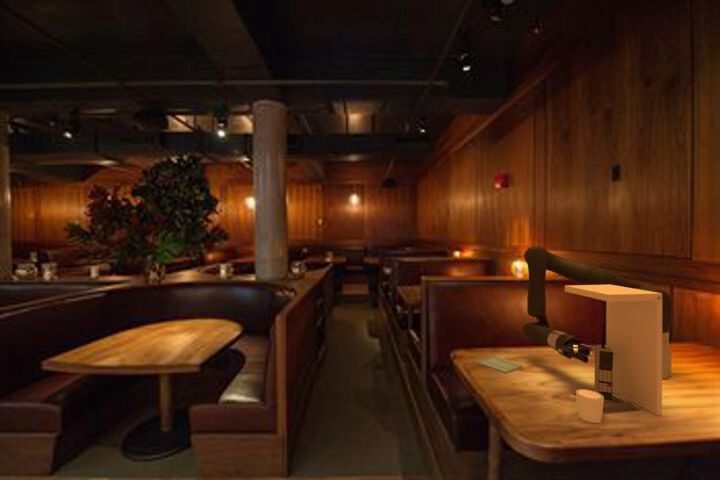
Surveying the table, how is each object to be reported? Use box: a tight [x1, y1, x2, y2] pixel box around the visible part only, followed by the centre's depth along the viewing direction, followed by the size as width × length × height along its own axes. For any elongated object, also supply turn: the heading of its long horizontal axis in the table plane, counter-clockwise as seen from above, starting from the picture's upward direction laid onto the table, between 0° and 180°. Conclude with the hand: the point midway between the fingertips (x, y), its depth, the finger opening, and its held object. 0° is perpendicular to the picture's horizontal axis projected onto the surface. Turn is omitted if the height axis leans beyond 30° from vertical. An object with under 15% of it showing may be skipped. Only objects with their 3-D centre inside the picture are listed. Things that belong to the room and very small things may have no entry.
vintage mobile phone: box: [594, 321, 614, 404], centre depth 107 cm, size 4×5×25 cm
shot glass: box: [575, 388, 604, 424], centre depth 98 cm, size 7×7×7 cm
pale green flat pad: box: [476, 355, 523, 375], centre depth 138 cm, size 14×12×1 cm
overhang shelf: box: [564, 284, 663, 416], centre depth 107 cm, size 17×18×36 cm
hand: (599, 359), depth 109 cm, fingers open, 8 cm apart
